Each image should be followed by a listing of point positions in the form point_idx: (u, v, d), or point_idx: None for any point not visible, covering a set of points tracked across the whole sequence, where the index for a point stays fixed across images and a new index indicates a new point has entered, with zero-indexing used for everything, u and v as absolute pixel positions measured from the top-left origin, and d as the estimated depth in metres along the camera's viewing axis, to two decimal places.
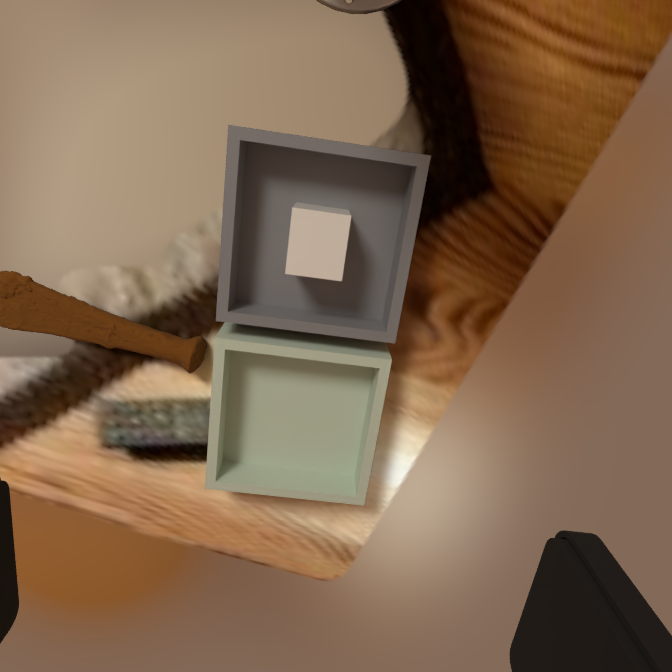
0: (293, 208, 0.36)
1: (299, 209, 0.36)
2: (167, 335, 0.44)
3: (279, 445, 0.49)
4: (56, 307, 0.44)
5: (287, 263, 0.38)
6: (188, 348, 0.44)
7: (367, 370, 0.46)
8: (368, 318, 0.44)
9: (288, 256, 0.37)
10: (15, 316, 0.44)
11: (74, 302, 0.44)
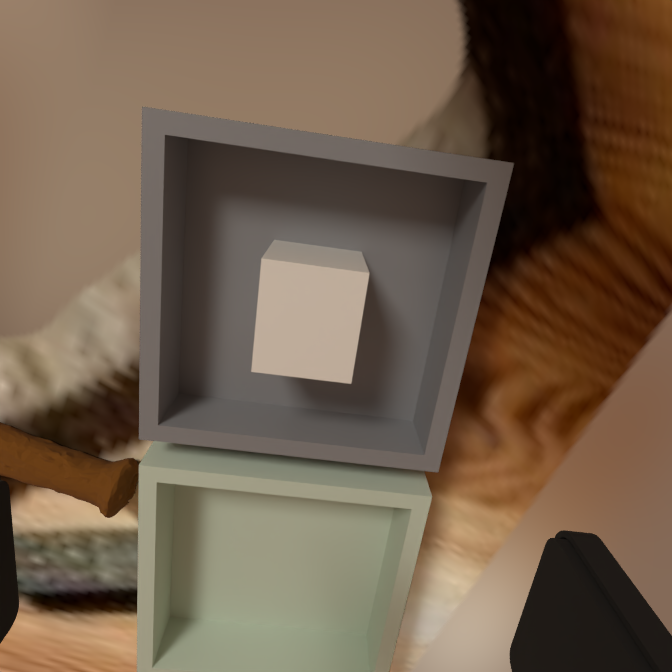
0: (263, 260, 0.20)
1: (274, 262, 0.20)
2: (76, 459, 0.28)
3: (254, 596, 0.32)
4: None
5: (255, 354, 0.21)
6: (105, 484, 0.27)
7: None
8: (391, 418, 0.28)
9: (256, 343, 0.21)
10: None
11: None
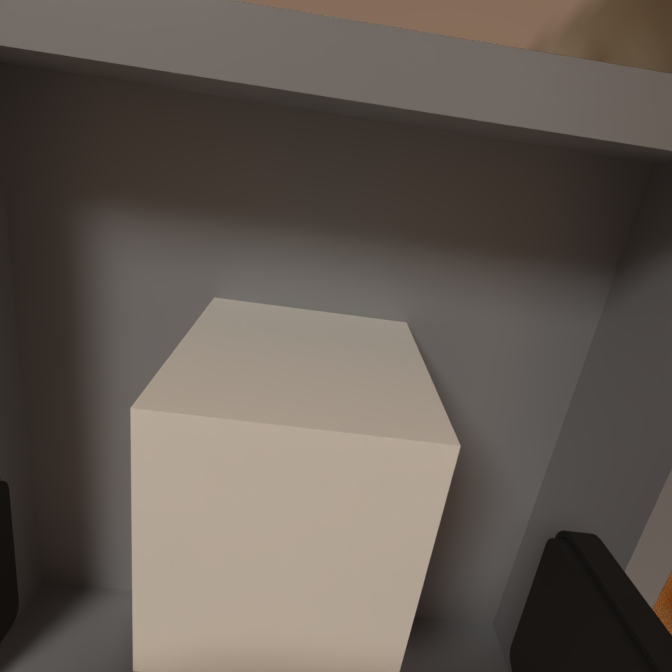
0: (138, 412, 0.06)
1: (172, 418, 0.06)
2: None
3: None
4: None
5: (138, 637, 0.08)
6: None
7: None
8: (452, 621, 0.15)
9: (139, 612, 0.08)
10: None
11: None
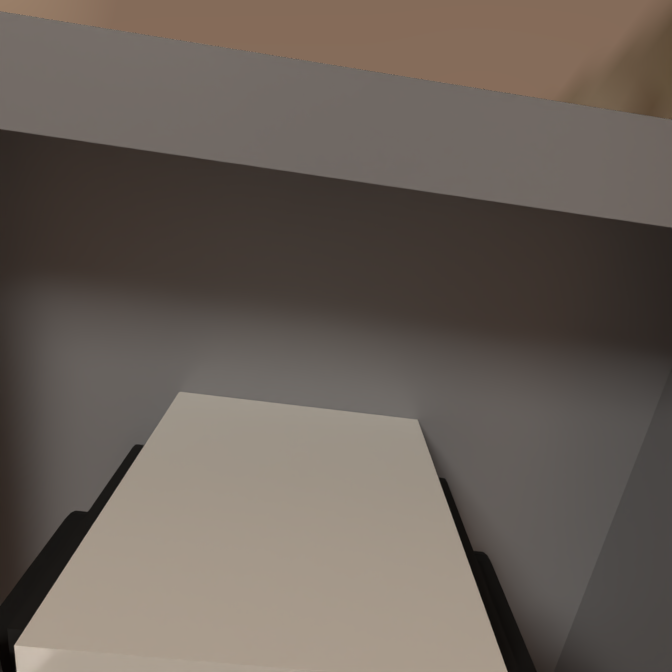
0: (28, 649, 0.04)
1: (78, 658, 0.04)
2: None
3: None
4: None
5: None
6: None
7: None
8: None
9: None
10: None
11: None
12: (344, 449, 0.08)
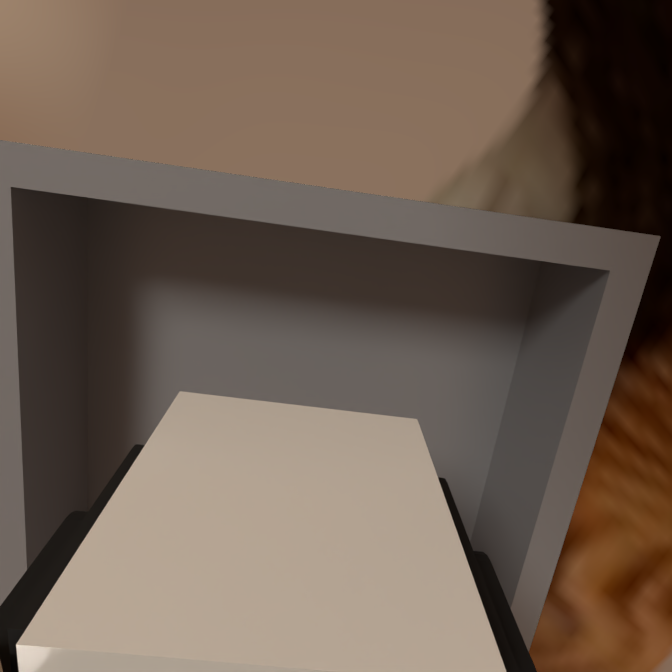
0: (30, 648, 0.04)
1: (80, 657, 0.04)
2: None
3: None
4: None
5: None
6: None
7: None
8: None
9: None
10: None
11: None
12: (344, 449, 0.08)
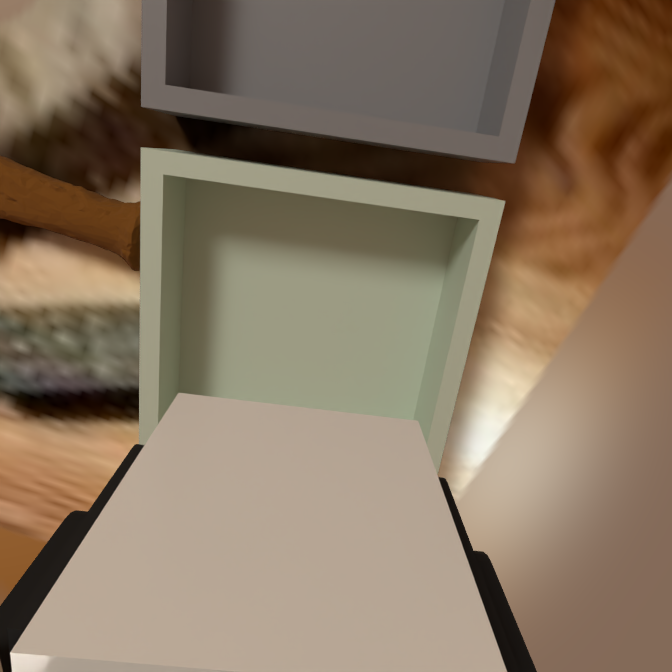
0: (24, 656, 0.04)
1: (75, 666, 0.04)
2: (91, 193, 0.23)
3: (277, 390, 0.27)
4: None
5: None
6: (128, 215, 0.23)
7: (440, 246, 0.25)
8: None
9: None
10: None
11: None
12: (344, 451, 0.08)
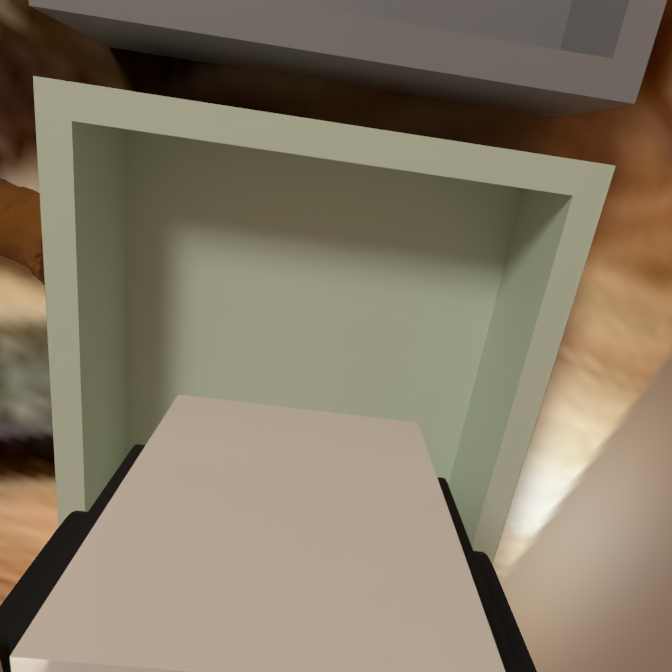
0: (23, 660, 0.04)
1: (74, 670, 0.04)
2: None
3: None
4: None
5: None
6: (38, 211, 0.15)
7: (495, 240, 0.17)
8: None
9: None
10: None
11: None
12: (344, 453, 0.08)
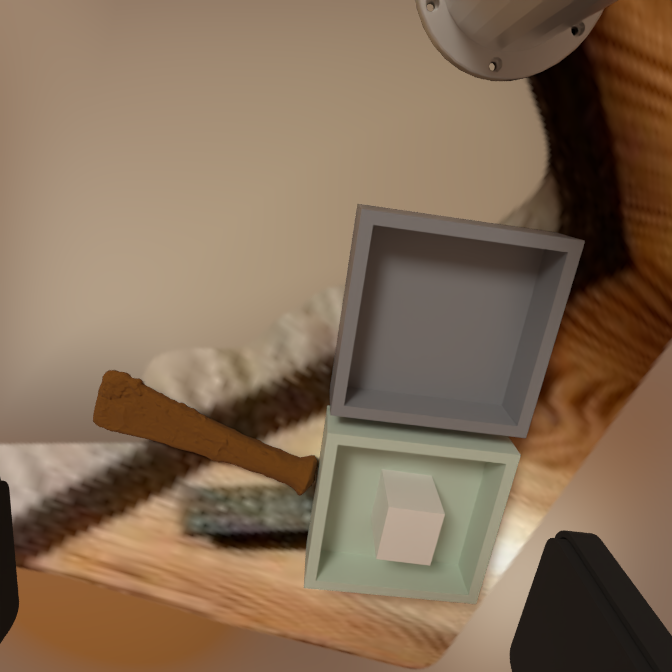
0: (389, 507, 0.38)
1: (395, 508, 0.38)
2: (280, 454, 0.41)
3: None
4: (166, 414, 0.40)
5: (379, 551, 0.39)
6: (303, 472, 0.40)
7: None
8: (487, 403, 0.40)
9: (380, 545, 0.39)
10: (117, 418, 0.41)
11: (185, 411, 0.40)
12: (418, 482, 0.41)
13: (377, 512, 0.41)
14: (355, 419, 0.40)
